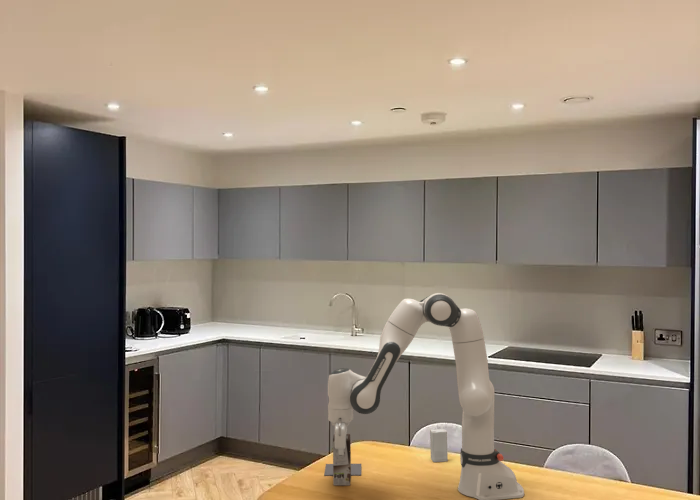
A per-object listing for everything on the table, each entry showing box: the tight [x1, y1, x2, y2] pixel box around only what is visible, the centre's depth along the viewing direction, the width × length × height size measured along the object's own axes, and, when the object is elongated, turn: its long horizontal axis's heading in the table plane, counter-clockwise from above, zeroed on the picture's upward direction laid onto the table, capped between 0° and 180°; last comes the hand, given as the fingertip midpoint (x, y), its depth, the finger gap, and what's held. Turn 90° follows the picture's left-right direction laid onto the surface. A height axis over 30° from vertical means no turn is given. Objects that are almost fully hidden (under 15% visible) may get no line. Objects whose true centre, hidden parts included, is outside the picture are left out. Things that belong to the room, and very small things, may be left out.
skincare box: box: [429, 428, 449, 463], centre depth 251 cm, size 6×4×12 cm
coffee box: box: [332, 433, 352, 486], centre depth 231 cm, size 9×6×16 cm
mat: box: [323, 463, 362, 477], centre depth 242 cm, size 14×12×1 cm
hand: (341, 453), depth 223 cm, fingers closed
